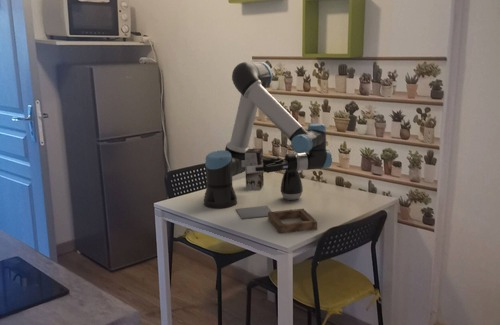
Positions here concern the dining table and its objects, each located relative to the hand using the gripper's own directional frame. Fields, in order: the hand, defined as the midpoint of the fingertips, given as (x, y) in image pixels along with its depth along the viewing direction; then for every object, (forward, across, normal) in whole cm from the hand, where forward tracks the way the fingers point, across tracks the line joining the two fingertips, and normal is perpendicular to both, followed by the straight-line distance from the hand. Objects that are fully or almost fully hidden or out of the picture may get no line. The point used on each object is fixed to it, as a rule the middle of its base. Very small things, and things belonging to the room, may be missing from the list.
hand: (244, 166), depth 206 cm
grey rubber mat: (-4, 0, -21) cm, 21 cm away
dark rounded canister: (-25, +15, -21) cm, 36 cm away
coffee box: (-4, 0, -10) cm, 11 cm away
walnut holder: (-15, -18, -21) cm, 31 cm away
